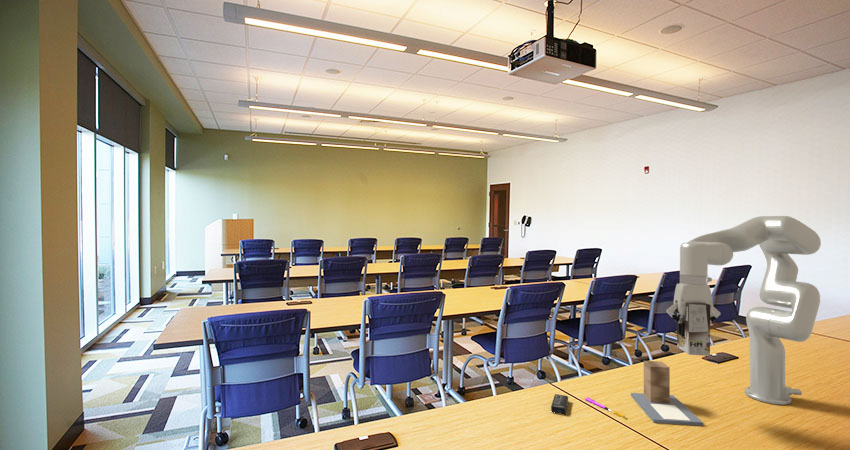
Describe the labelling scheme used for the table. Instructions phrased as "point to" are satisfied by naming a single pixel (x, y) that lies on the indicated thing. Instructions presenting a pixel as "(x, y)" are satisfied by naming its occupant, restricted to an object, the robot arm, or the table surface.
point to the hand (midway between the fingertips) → (692, 335)
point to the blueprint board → (658, 418)
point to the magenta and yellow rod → (604, 407)
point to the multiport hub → (559, 404)
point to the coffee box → (696, 330)
